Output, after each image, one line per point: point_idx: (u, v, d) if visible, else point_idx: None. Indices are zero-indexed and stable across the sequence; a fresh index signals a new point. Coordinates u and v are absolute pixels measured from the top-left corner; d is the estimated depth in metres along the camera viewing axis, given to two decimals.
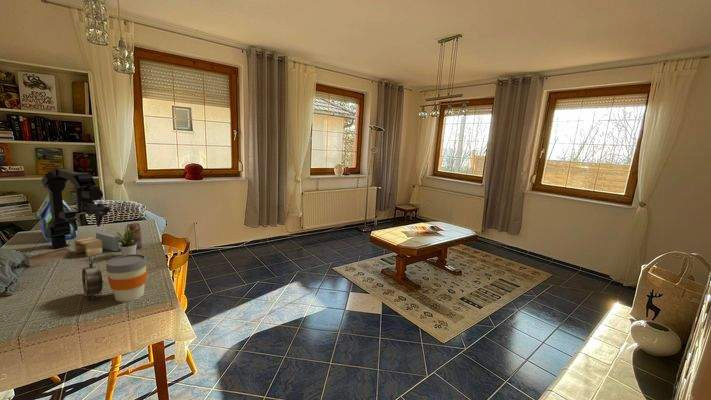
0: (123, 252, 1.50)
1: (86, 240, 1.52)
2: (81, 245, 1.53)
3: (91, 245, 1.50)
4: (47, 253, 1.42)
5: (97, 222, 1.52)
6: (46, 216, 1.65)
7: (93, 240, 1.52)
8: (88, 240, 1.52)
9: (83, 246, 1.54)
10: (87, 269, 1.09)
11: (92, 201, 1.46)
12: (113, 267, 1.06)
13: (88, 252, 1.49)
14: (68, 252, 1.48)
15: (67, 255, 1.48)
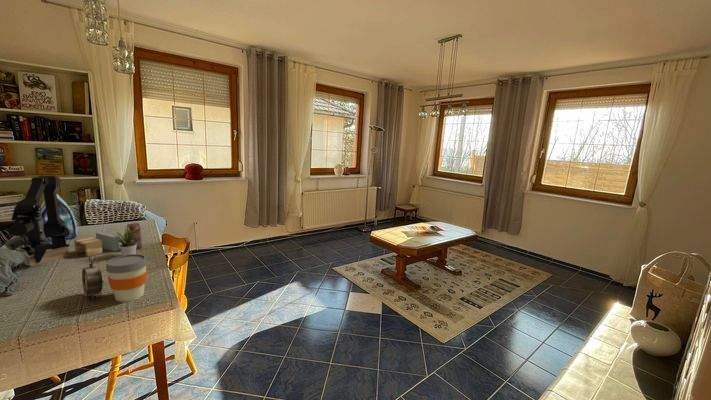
0: (123, 252, 1.50)
1: (86, 240, 1.52)
2: (81, 245, 1.53)
3: (91, 245, 1.50)
4: (46, 252, 1.42)
5: None
6: (46, 216, 1.65)
7: (93, 240, 1.52)
8: (88, 240, 1.52)
9: (83, 246, 1.54)
10: (87, 269, 1.09)
11: (24, 235, 1.33)
12: (113, 267, 1.06)
13: (88, 252, 1.49)
14: (66, 251, 1.49)
15: (66, 254, 1.48)
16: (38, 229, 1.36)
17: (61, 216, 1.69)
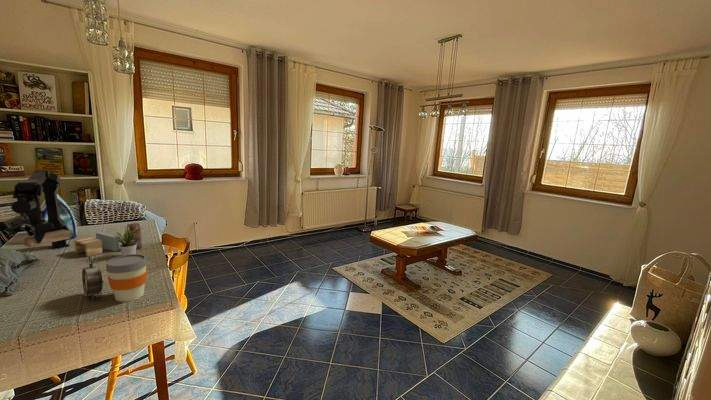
0: (123, 252, 1.50)
1: (86, 240, 1.52)
2: (81, 245, 1.53)
3: (91, 245, 1.50)
4: (47, 233, 1.39)
5: None
6: (46, 216, 1.65)
7: (93, 240, 1.52)
8: (88, 240, 1.52)
9: (83, 246, 1.54)
10: (87, 269, 1.09)
11: (24, 214, 1.29)
12: (113, 267, 1.06)
13: (88, 252, 1.49)
14: (68, 233, 1.45)
15: (67, 236, 1.45)
16: (39, 208, 1.33)
17: (61, 216, 1.69)
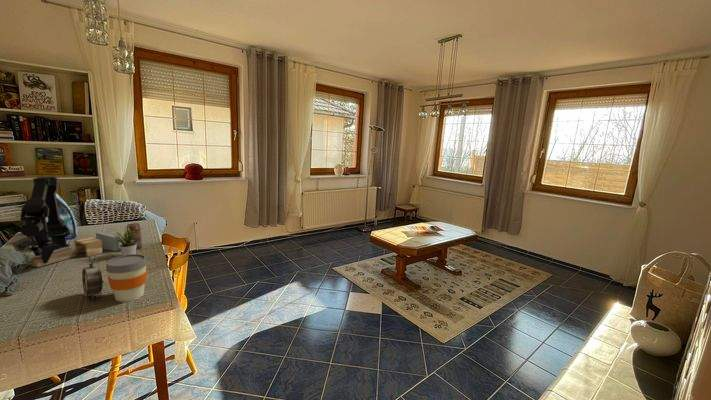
0: (123, 252, 1.50)
1: (86, 240, 1.52)
2: (81, 245, 1.53)
3: (91, 245, 1.50)
4: (53, 253, 1.41)
5: None
6: None
7: (93, 240, 1.52)
8: (88, 240, 1.52)
9: (83, 246, 1.54)
10: (87, 269, 1.09)
11: (31, 235, 1.31)
12: (113, 267, 1.06)
13: (88, 252, 1.49)
14: (73, 251, 1.47)
15: (73, 254, 1.47)
16: (45, 229, 1.35)
17: (61, 216, 1.69)
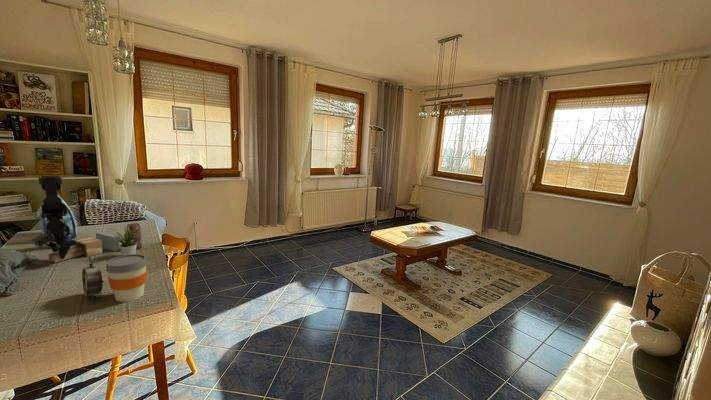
0: (123, 252, 1.50)
1: (86, 240, 1.52)
2: None
3: (91, 245, 1.50)
4: (69, 249, 1.46)
5: None
6: None
7: (93, 240, 1.52)
8: (88, 240, 1.52)
9: None
10: (87, 269, 1.09)
11: (50, 232, 1.37)
12: (113, 267, 1.06)
13: (88, 252, 1.49)
14: None
15: None
16: None
17: None
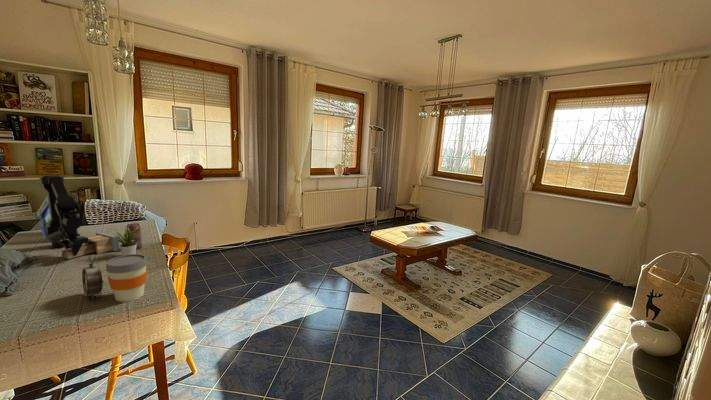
0: (123, 252, 1.50)
1: (96, 238, 1.56)
2: None
3: (101, 243, 1.54)
4: (81, 246, 1.51)
5: None
6: (46, 216, 1.65)
7: (103, 238, 1.57)
8: (98, 238, 1.56)
9: None
10: (87, 269, 1.09)
11: (63, 229, 1.41)
12: (113, 267, 1.06)
13: (98, 249, 1.53)
14: None
15: None
16: None
17: None
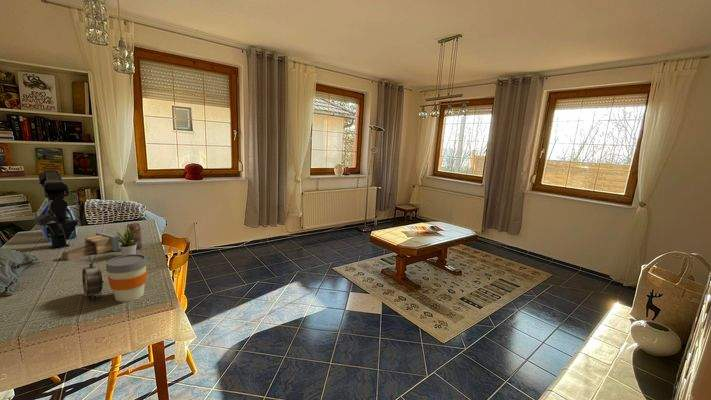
0: (123, 252, 1.50)
1: (96, 238, 1.56)
2: (91, 243, 1.58)
3: (101, 243, 1.54)
4: (81, 248, 1.51)
5: None
6: None
7: (103, 238, 1.57)
8: (98, 238, 1.56)
9: None
10: (87, 269, 1.09)
11: (51, 212, 1.39)
12: (113, 267, 1.06)
13: (98, 249, 1.53)
14: None
15: None
16: None
17: None
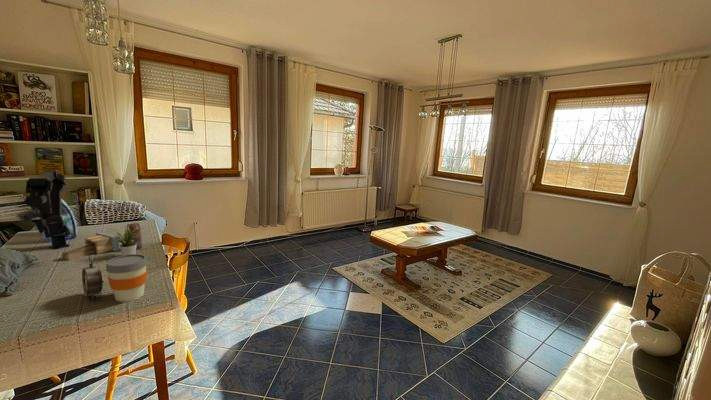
0: (123, 252, 1.50)
1: (96, 238, 1.56)
2: (91, 243, 1.58)
3: (101, 243, 1.54)
4: (81, 248, 1.51)
5: None
6: None
7: (103, 238, 1.57)
8: (98, 238, 1.56)
9: None
10: (87, 269, 1.09)
11: (36, 207, 1.39)
12: (113, 267, 1.06)
13: (98, 249, 1.53)
14: None
15: None
16: (49, 203, 1.43)
17: None
